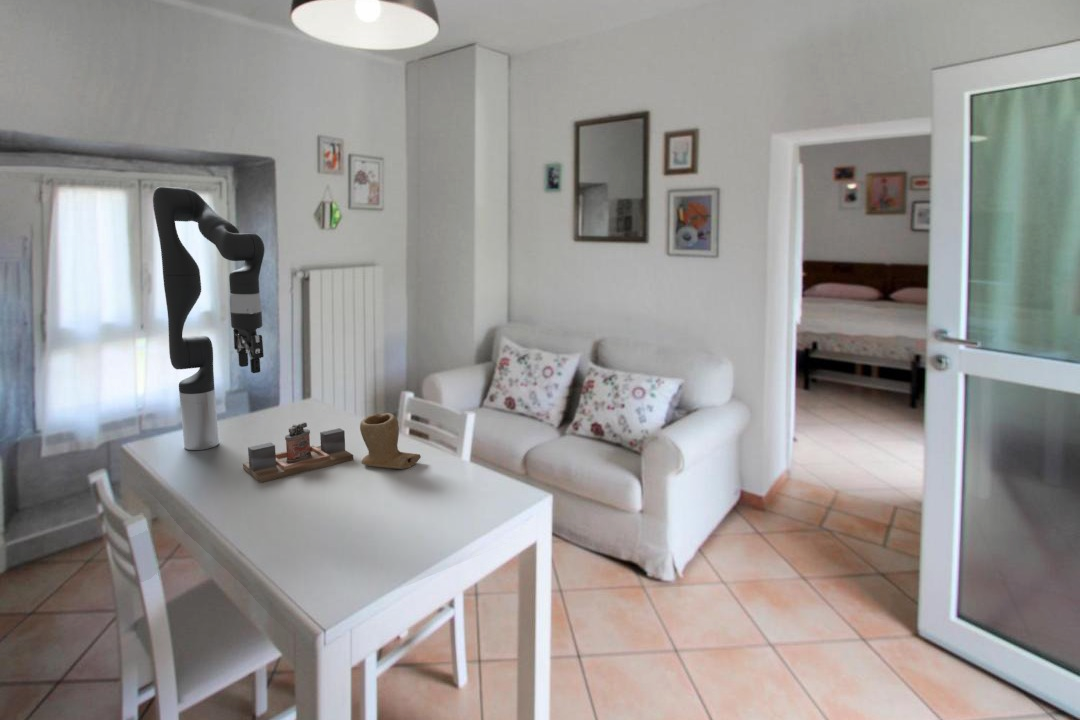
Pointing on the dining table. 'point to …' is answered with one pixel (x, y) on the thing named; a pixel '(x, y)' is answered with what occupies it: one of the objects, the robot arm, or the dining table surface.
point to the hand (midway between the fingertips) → (249, 369)
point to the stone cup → (384, 443)
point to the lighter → (298, 443)
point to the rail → (275, 466)
